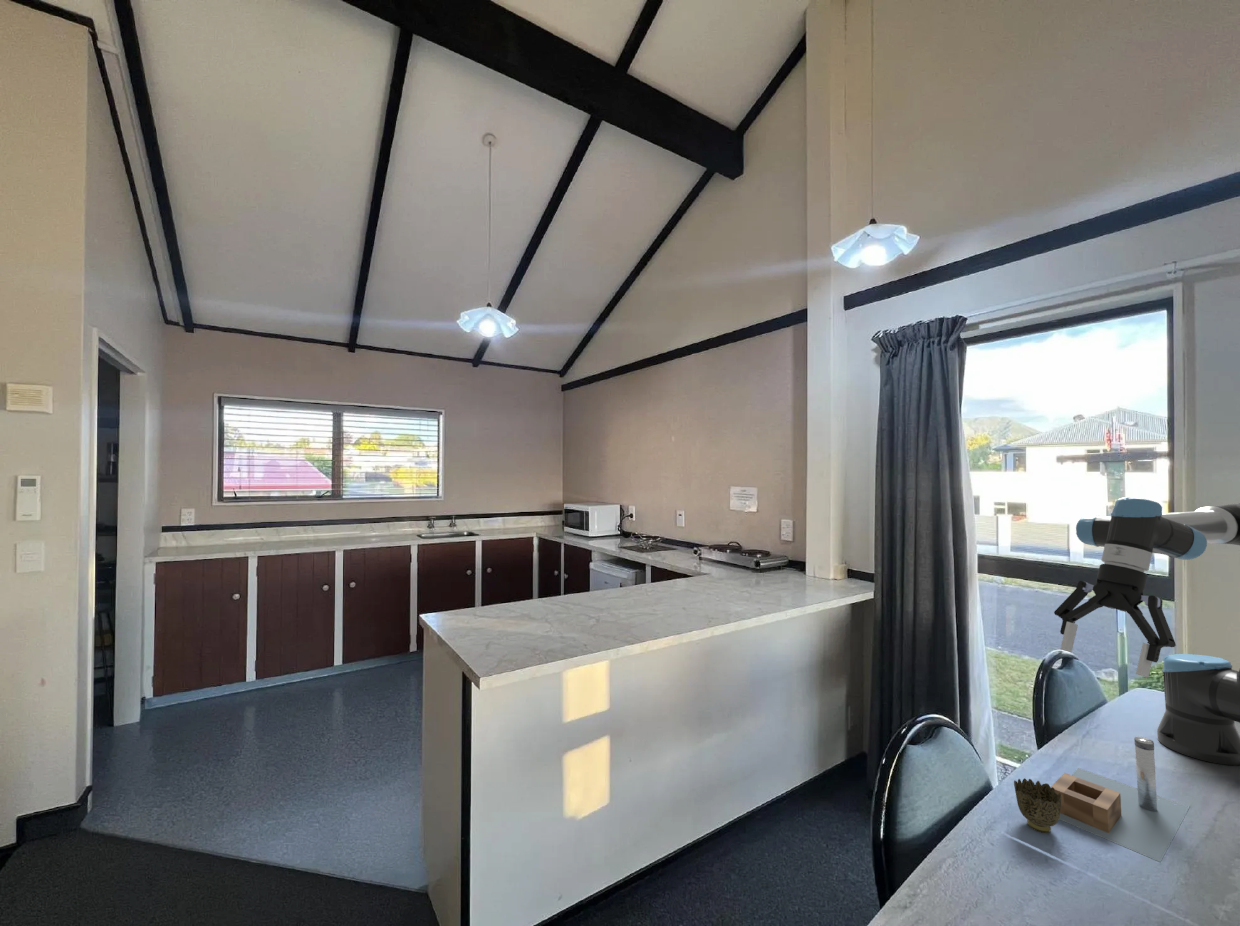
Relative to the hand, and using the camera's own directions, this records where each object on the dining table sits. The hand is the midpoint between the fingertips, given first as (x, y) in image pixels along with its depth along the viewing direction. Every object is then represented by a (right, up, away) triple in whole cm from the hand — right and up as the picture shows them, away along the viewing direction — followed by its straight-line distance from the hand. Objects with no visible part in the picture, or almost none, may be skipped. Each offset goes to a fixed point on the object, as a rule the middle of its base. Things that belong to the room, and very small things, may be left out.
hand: (1101, 662), depth 111 cm
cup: (-20, -31, -8) cm, 37 cm away
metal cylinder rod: (+7, -29, -3) cm, 30 cm away
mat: (0, -30, -3) cm, 30 cm away
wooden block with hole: (-7, -30, -4) cm, 31 cm away
